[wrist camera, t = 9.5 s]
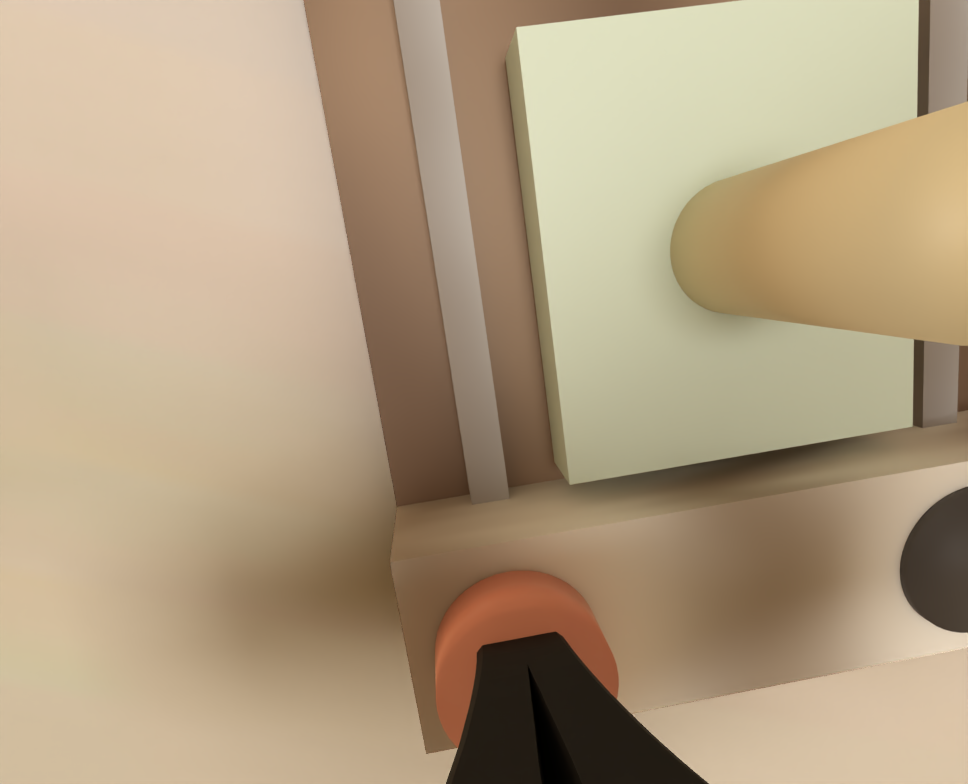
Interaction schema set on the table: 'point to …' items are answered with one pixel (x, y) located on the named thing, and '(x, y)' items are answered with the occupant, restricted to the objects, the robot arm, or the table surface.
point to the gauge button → (511, 634)
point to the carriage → (734, 227)
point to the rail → (524, 411)
